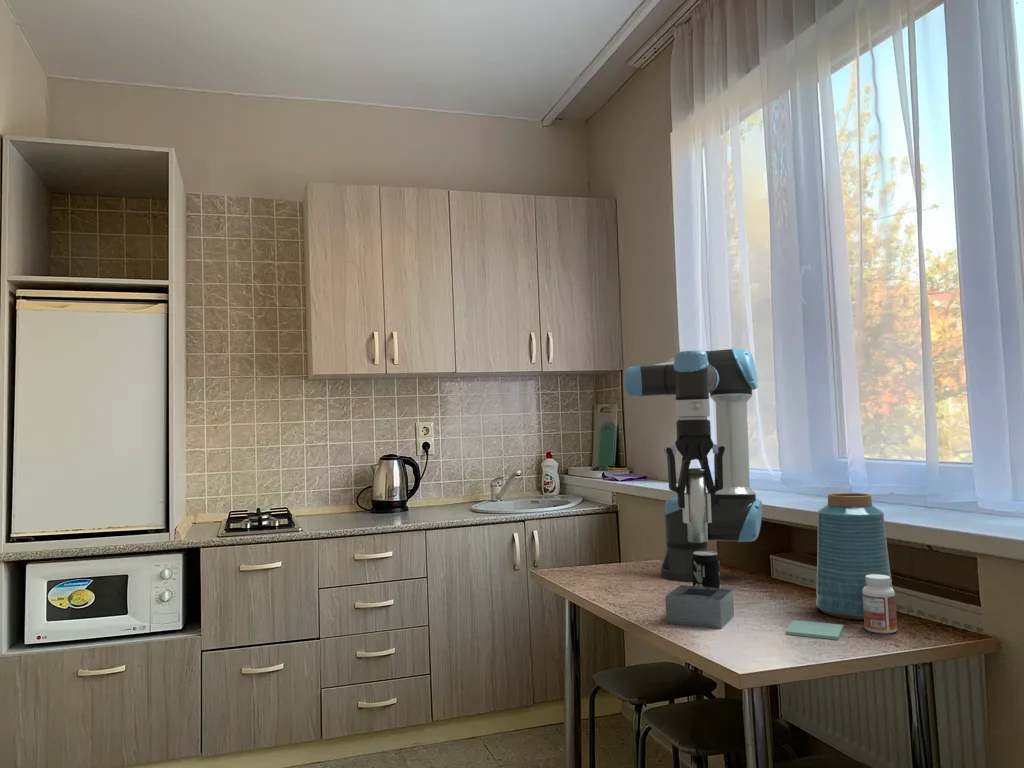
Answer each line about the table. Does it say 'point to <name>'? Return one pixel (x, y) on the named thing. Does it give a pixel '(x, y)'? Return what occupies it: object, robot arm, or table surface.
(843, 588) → the vase
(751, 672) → the table surface
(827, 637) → the mat
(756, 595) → the table surface
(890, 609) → the pill bottle
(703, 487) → the glass tube
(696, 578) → the beverage can
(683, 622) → the block
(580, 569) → the table surface
